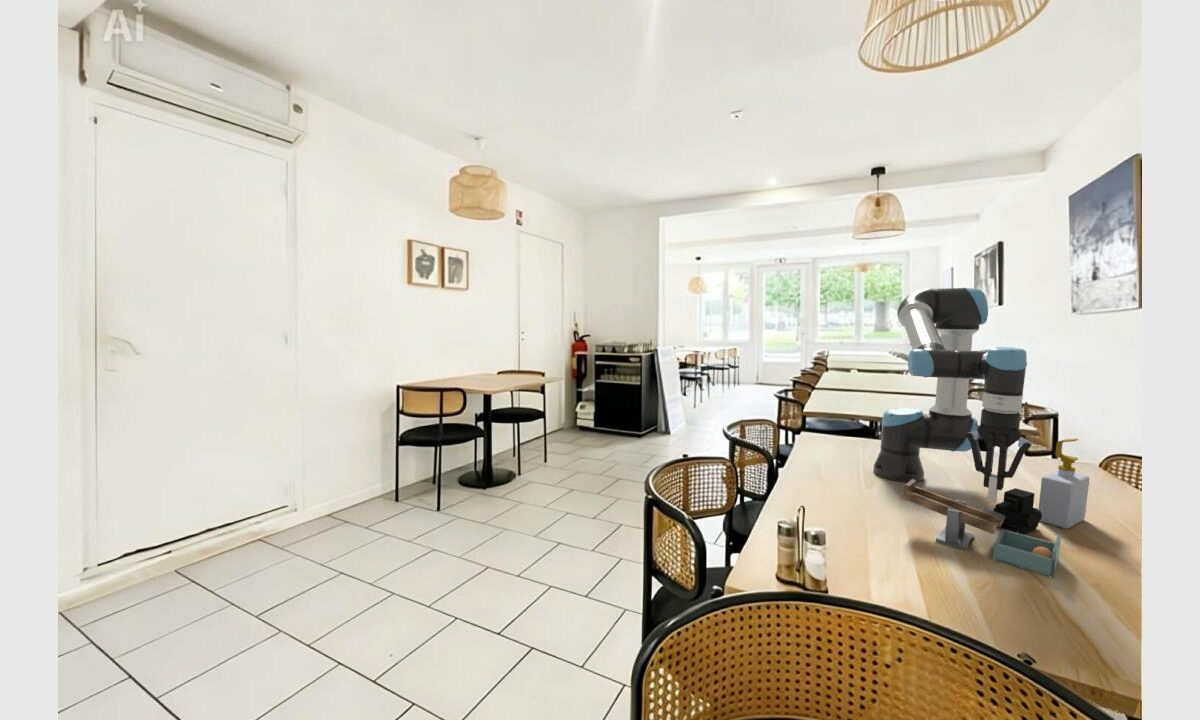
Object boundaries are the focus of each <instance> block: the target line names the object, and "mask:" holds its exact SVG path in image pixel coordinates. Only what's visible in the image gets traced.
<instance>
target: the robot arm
mask: <svg viewBox="0 0 1200 720" xmlns="http://www.w3.org/2000/svg"><path fill="white" fill-rule="evenodd" d="M988 305H989V304H988V300H987V297H986V295H985V292H984V291H982V290H981V289H979V288H973V287H972V288H971V287H970V288H969V287H958V288H957V287H956V288H955V287H952V288H950V287H949V288H948V287H947V288H923V289H920V290H916V291H914V292H911V293H910V294H909V295H908V296H906V297H905V298H904V299H903V300H902V301H901V302H900V304H899V305H898V308H897V312H896V313H897V320H898V322H899V323H900V325H901V326H902V327H904V329H905V331H906V334H907V336H908V337H907V338H908V340H909V343H910V346H911V348H912V350H910V351H909V353H908V359H907V367H908V370H907V371H908V373H909V374H910V375H911V376H913V377H923V378H937V379H936V391H935V403H934V405H933V406H931V407H930V408H929V409H928V413H924V412H923V410H922V409H920V408H916V407H915V408H912V407H911V408H910V407H901V408H900V407H898V408H891V409H888V410H886V411H885V412H884V413H883V416H882V421H881V435H880V436H881V439H880V450H879V453H878V454H877V455H878V456H877V458H876V460H875V462H874V464H873V473H874V474H876V475H878V476H879V477H881V478H885V479H887V480H888V479H889V480H890V481H891V480H893V481H896V482H904V483H908V482H909V481H910V480H911V479H914V480H916V483H919V482H922V481H924V477H925V470H924V467H923V464H922V461H921V457H920V452H921V451H920V449H927V450H928V449H930V450H941V451H950V452H954V453H955V452H968V451H970V450H971V452H972V457H973V462H974V463H973V464H974V467H975V470H976V471H977V472H980V473H982V474H983V484H982V485H983V487H984V488H988V490H987V497H986V498H987V499H986V501H987V502H989V503H994V504H995V503H996V502H997V499H998V491H1002V490H1003V488H1004V486H1005V485H1004V484H1005V479H1006V478H1007V479H1008V478H1010V479H1011V478H1013V477H1014V475H1016V472H1017V469H1018V467H1019V465H1020V463H1021V461H1022V459H1023V456H1024V455H1025V452H1027V450H1029V449H1030V448H1031V447H1032V446H1033V443H1032V441H1031V440H1026V438H1024V437H1022V433H1021V431H1020V423H1021V416H1022V415H1021V414H1022V413H1020V412H1021V411H1022V405H1023V399H1024V398H1023V396H1024V395H1023V394H1024V387H1025V378H1026V369H1027V366H1028V362H1027V351H1026V350H1025V349H1024V348H1019V347H1018V348H1017V347H1009V346H1004V347H1003V346H993V347H990V348H988V349H980V350H972V346H973V335H975V333H978V331H979V330H980V326H981V325H985V324H987V323H986V322H987V320H988V317H989V306H988ZM970 380H984V384H983V393H982V402H981V403H982V405H981V407H983V408H982V409H981V414H980V422H979V423H978V419H976V417H973V413H972V411H971V410H970V409H969V408H968V407H967V406H968V395H969V384H970V383H969V382H970ZM979 436H980V437H979ZM980 438H982V440H983V441H984V443H985V444H986V451H985V452H986V453H985V460H984V461H985V462H984V463H983V457H982V454H981V453H982V452H981V448H980V444H979V440H978V439H980ZM1016 442H1018V443H1017V446H1018V447H1019V448H1018V450H1017V452H1016V454H1015V455H1014V458H1013V459H1012V462H1011V463H1010V464H1011V465H1010V466H1009V469H1008V470H1006V468H1007V467H1006V466H1007V459H1008V450H1009V448H1010V447H1012V445H1014V444H1015V443H1016ZM996 447H998V449H999V450H998V451H999V454H998V464H997V472H996V473H997V474H993V473H992V472H993V463H994V457H995V456H994V455H995V448H996Z"/></svg>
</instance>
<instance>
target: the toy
mask: <svg viewBox="0 0 1200 720" xmlns="http://www.w3.org/2000/svg"><path fill="white" fill-rule="evenodd" d="M1003 493H1004V494H1003V501H1002V502H999V503H996V504H995V507H993V511H995V512H997V513H1000V514H1003V515H1004V516H1005V520H1004V521H1003V523H1002V525H1001V527H997V528H999V529H1000V528H1003V527H1005V526H1010V527H1013V528H1016V533H1019V534H1023V535H1027V534H1029V533H1032V532H1034V531H1037V527H1039V524H1040V522H1041V521H1040V520H1041V518H1042V513H1041V511H1040V510H1039V508H1036V507H1034V504H1035V502H1034V501H1035V493H1034V492H1030V491H1027V490H1025V489H1020V488H1012V489H1010V490H1006V491H1004V492H1003Z"/></svg>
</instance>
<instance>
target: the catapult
mask: <svg viewBox="0 0 1200 720" xmlns="http://www.w3.org/2000/svg"><path fill="white" fill-rule="evenodd" d="M916 483H917V482H916V480H914V479H911V480H910V481H909V482H906V483H905V485H904V488H903V492H902V494H901V496H900V499H903V500H906V501H908V502H911V503H913V504H916V505H918V506H921V507H923V508H926V509H928V510H931V511H933V512H935V513H938V514H940V515H943V516H946V517H947V510H948V508H950V509H954V510H958V511H960V520H959V521H960V522H963V523H966V524H965V525H968V526H971V527H973V528H976V529H978V530H981V531H982V532H983V531H984V532H986V533H989V534H990V535H994V533H996V530H997V528H998V527H1001V525H1002V523H1003V521H1004V520H1005V516H1004V515H1003V514H1000V513H997V512H995V511H994V510H992V509H989V508H986V507H981V508H980V509H978V508H975V507H972V506H969V505H968V504H967V505H965V504H962V503H959V502H957V501H955V500H954V499H951V498H948V497H945V496H943V495H940V494H937V493H935V492H932V491H930V490H927V489H925V488H921V487H919V486H917V485H916ZM1001 528H1002V527H1001Z"/></svg>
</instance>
